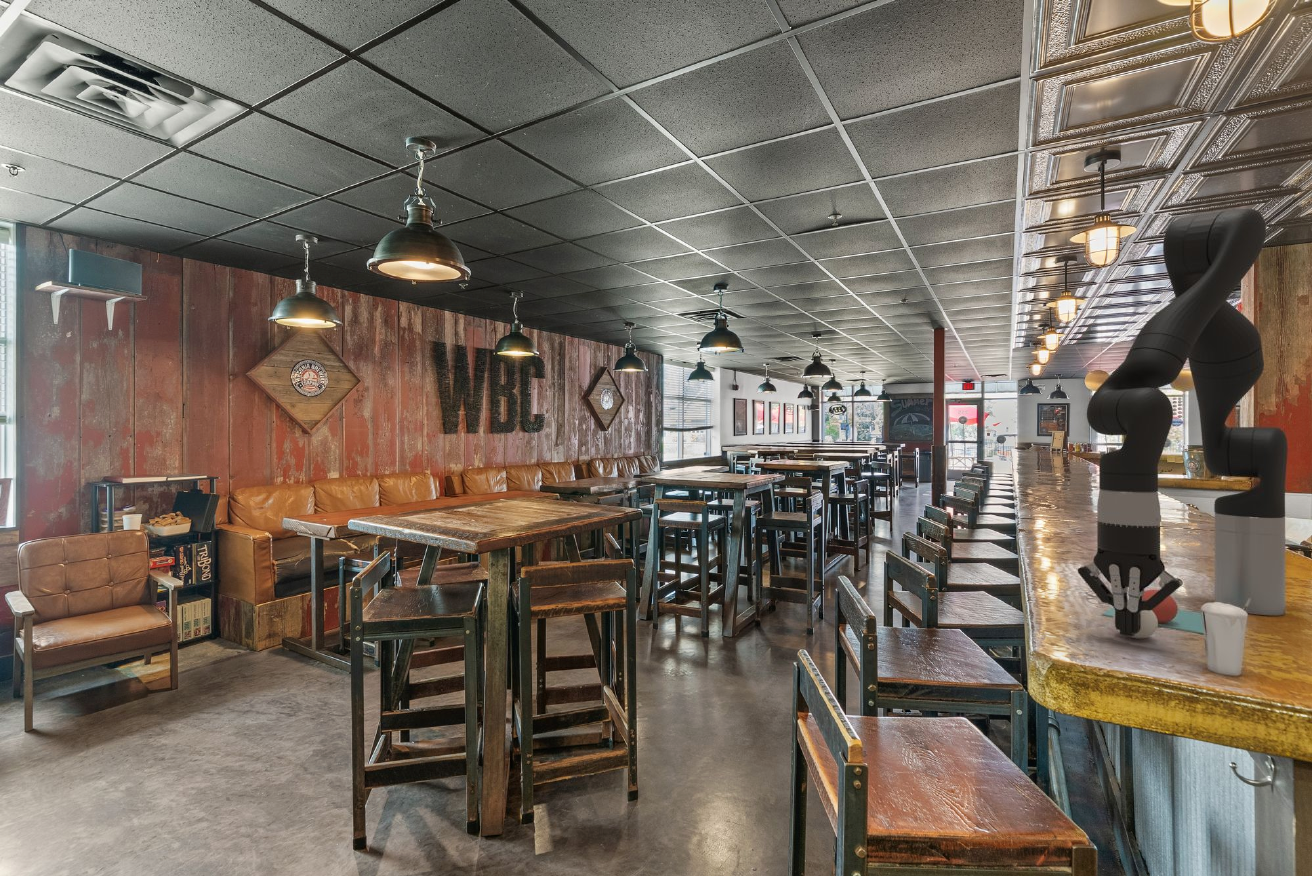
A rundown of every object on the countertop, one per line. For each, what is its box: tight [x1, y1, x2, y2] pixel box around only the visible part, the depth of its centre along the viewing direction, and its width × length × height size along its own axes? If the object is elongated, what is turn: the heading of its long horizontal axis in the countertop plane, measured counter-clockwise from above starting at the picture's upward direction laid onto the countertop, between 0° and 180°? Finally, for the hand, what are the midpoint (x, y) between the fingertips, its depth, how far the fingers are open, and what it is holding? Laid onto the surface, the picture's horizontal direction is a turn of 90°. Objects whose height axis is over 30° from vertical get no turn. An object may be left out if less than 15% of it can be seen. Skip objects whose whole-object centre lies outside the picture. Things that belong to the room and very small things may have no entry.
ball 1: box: [1112, 606, 1159, 639], centre depth 94 cm, size 6×6×6 cm
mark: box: [1102, 606, 1204, 635], centre depth 105 cm, size 14×14×1 cm
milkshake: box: [1200, 598, 1252, 677], centre depth 80 cm, size 5×5×10 cm
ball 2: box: [1143, 589, 1178, 623], centre depth 102 cm, size 6×6×6 cm
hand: (1128, 634), depth 91 cm, fingers closed
